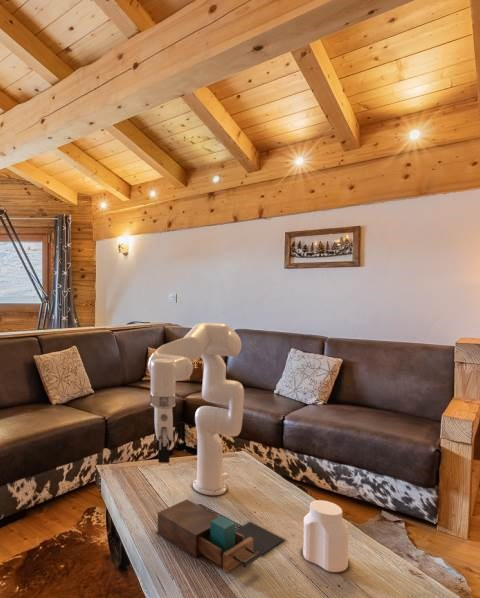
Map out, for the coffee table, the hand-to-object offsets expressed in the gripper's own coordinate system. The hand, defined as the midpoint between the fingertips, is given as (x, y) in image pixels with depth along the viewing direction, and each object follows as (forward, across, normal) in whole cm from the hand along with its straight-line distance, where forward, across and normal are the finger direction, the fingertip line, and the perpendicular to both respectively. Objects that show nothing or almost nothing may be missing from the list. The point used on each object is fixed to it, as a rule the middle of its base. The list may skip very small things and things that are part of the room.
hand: (162, 455), depth 129 cm
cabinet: (+26, +2, -9) cm, 28 cm away
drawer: (+25, -7, -18) cm, 32 cm away
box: (+24, -7, -17) cm, 30 cm away
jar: (+26, -7, -46) cm, 53 cm away
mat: (+26, +2, -29) cm, 39 cm away
